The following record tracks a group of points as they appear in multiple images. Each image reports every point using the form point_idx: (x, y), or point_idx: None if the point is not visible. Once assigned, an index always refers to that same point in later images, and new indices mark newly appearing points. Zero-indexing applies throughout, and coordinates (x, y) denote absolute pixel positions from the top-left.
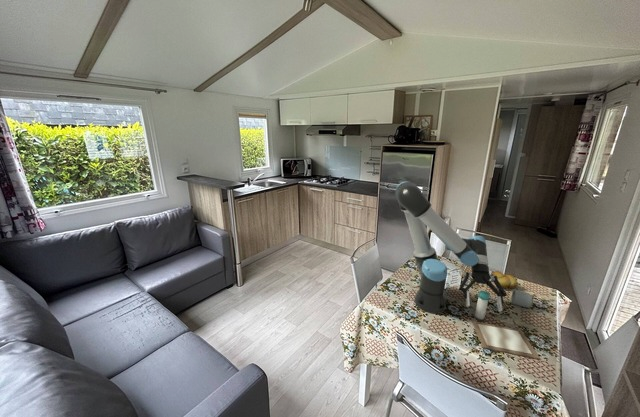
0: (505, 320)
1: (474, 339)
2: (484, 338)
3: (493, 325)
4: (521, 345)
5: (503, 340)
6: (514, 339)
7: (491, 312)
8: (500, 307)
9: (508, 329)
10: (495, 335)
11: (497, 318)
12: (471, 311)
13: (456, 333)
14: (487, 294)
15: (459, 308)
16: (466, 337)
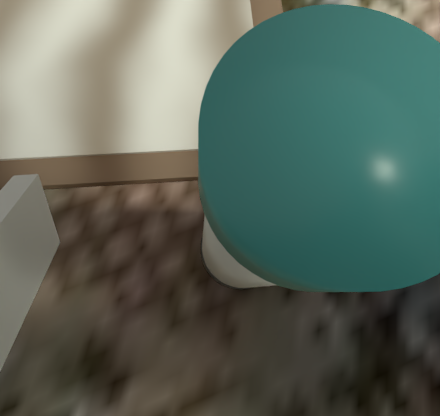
0: None
1: (307, 3)
2: (250, 4)
3: (144, 173)
4: (14, 9)
5: (124, 22)
6: (37, 55)
7: (97, 403)
8: (17, 194)
9: (35, 155)
10: (166, 54)
11: (70, 313)
12: (289, 338)
13: (413, 22)
14: (269, 109)
15: (393, 345)
16: (354, 5)
